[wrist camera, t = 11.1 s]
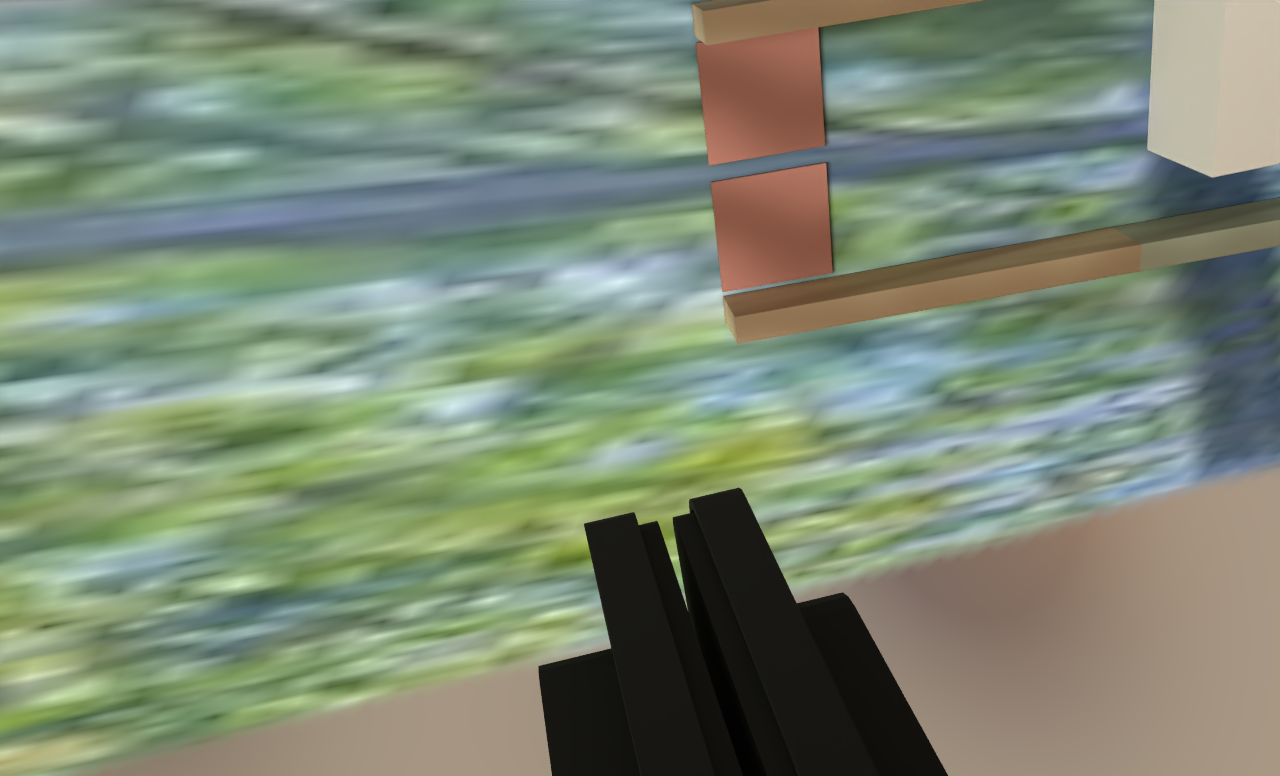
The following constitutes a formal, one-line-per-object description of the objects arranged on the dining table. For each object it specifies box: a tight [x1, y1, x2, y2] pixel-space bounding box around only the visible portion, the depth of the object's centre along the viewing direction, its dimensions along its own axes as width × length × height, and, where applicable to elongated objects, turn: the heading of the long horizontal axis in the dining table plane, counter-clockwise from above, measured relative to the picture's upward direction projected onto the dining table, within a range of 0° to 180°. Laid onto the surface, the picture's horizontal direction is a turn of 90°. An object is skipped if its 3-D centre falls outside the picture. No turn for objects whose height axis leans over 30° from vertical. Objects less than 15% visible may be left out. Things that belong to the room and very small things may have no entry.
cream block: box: [1147, 0, 1280, 177], centre depth 36 cm, size 6×6×4 cm
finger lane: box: [692, 0, 1280, 344], centre depth 36 cm, size 11×23×2 cm, turn 98°
